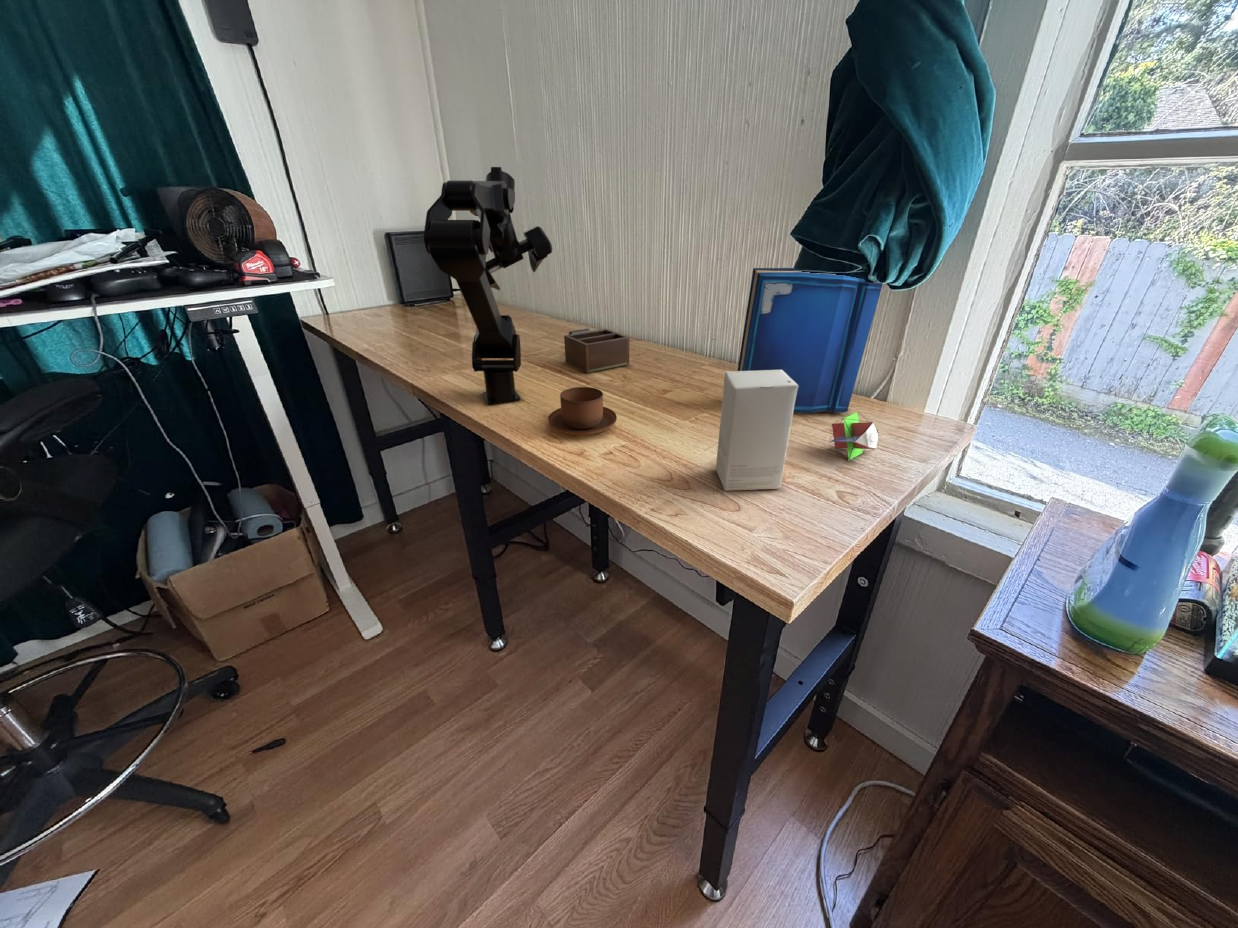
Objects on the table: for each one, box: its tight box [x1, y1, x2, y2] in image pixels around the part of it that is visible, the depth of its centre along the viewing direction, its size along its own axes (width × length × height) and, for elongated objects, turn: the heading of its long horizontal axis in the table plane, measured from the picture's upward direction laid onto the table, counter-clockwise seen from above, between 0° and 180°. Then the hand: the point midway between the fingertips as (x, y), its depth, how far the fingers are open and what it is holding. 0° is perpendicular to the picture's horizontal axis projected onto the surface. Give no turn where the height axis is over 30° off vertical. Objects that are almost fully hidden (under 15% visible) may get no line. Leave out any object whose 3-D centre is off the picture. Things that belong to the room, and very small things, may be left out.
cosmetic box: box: [715, 370, 799, 492], centre depth 68 cm, size 8×7×16 cm
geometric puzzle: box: [828, 410, 880, 461], centre depth 77 cm, size 7×7×8 cm
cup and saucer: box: [547, 386, 618, 437], centre depth 86 cm, size 12×12×6 cm
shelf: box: [563, 328, 631, 374], centre depth 119 cm, size 14×12×6 cm
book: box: [737, 267, 884, 415], centre depth 89 cm, size 22×7×25 cm, turn 84°
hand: (516, 279), depth 115 cm, fingers open, 9 cm apart
